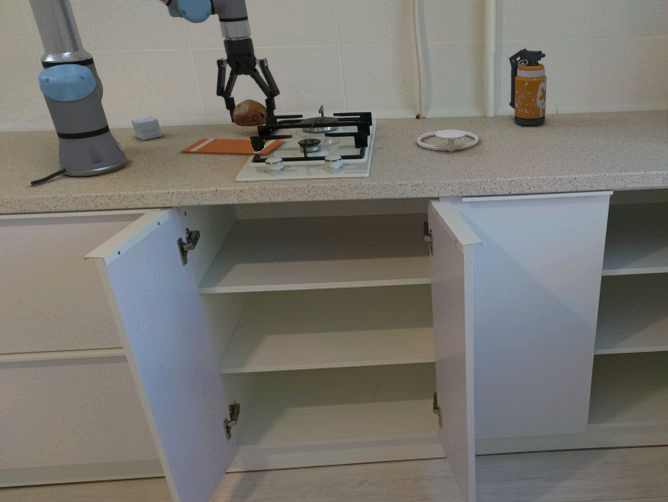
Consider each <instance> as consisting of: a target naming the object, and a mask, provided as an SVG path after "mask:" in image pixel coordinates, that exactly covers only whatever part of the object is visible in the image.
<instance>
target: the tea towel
mask: <svg viewBox="0 0 668 502" xmlns="http://www.w3.org/2000/svg"><path fill="white" fill-rule="evenodd" d="M251 140H252V139H231V138H214V137H213V138H212V137H211V138H202V139H200V140H197V142H194V143H193V144H191V145H189V146H188V147H186V148H184V149H182V150H181V153H182V154H209V155H210V154H211V155H213V154H214V155H246V156H247V155H248V156H249V155H250V156H267V155H269V154H270V153H272V152H273V151H274V150H276V149H277V148H278V147H281V146H282V145H283V144H284V143H285V140H282V139H281V140H277V139H266V140H267V141H266V142H265V145H264V148H263V149H262V150H261V151H258V152H255V151H254V149H253V147H252V144H251Z"/></svg>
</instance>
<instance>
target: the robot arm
mask: <svg viewBox="0 0 668 502" xmlns="http://www.w3.org/2000/svg"><path fill="white" fill-rule="evenodd" d="M28 1H29V5H30V8H31V11H32V14H33V16H34V17H33V18H34V20H35V24H36V27H37V30H38V33H39V36H40V40H41V43H42V47H43V50H44V52H43V54H42V56H41V57H40V63H41V67H42V69H43V70H41V71H40V72H39V74H38V78H37V79H38V83H39V89H40V91H41V92H42V95H43V98H44V101H45V103H46V106H47V109H48V112H49V115H50V119H51V121H52V123H53V126H54V130H55V132H56V135H57V138H58V153H59V154H58V155H59V161H58V163H59V168H60V170H57V171H56V172H53V173H51V174H49V175H47V176H44V177H42V178H39V179H36V180H31V181H30V185H31V186H35V185H39V184H42V183H45V182H48V181H50V180H51V179H54V178H56V177H58V176H60V175H65V176H69V177H92V176H100V175H104V174H108V173H113V172H115V171H118V170H120V169H122V168H125V166H127V165H128V158H127V156H126V153H125V152H124V151H123V149H122V148H123V147H122V145H121V143H120V142H119V141H117V140H116V138H115V137H114V136H113V133H112V132H111V129H110V126H109V122H108V119H107V116H106V113H105V109H104V106H103V102H102V101H103V100H102V99H103V96H104V86H103V82H102V80H101V78H100V76H99V75H98V72H97V67H96V64H95V61H94V57H93V55H92V54H91V53H90V52H88V51H87V50H86V49H85V47H84V46H83V41H82V39H81V34H80V31H79V28H78V24H77V21H76V17H75V14H74V10H73V7H72V4H71V0H28ZM157 1H158V2H160V3H161V4H163V5H164V6H166V7H167V11H168V14H169V16H170V17H172V18H181V19H184V20H186V21H187V22H189V23H192V24H200V23H201V24H202V23H204V22H205V21H207V20H208V19H209V18H210V17H211V16H214V15H215V16H216V15H217V17H218V22H219V27H220V32H221V37H222V38H223V41H222V42H223V47H224V52H225V54H226V58H224V57H220V58H218V59H217V60H216V66H217V79H216V92H215V94H216V96H217V97H221V98H223V100H224V105H225V109H226V110H227V111H229V116H230V120H231V123H232V124H235V122H234V120H233V111H234V109H235V107H236V106H237V105H236V101H235V97H234V96H232V95H233V90H234V87H235V85H236V81H237V79H238V76H242V75H243V76H249V77H250V78H251V79H253V81H254V82H255V84H256V85H257V86H258V88H259V89H260V90H261V91H262V93H263V94H264V96H265V97H266V98H265V99H264V104H265V107H266V109H267V114H268V117H275V110H276V109H277V106H276V99H275V97H277V96H279V95H281V92H280V89H279V87H278V85H277V83H276V81H275V78H274V76H273V74H272V72H271V70H270V68H269V64H268V63H269V62H268V59H267V58H266V57H264V58H257V57H256V54H255V47H254V42H253V39H252V37H251V36H252V32H251V26H250V21H249V16H248V9H247V3H246V0H157ZM257 65H258V66H257ZM228 66H229V67H230V71H229V74H228V75H229V77H228V80H227V82H226V75H227V67H228ZM256 67H259V68H260V71H261V73H262V75H263V77H264V78H263V77H262V75H261V74H260V72H259V70H258V68H256ZM275 118H276V117H275Z"/></svg>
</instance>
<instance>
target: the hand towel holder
mask: <svg viewBox="0 0 668 502" xmlns="http://www.w3.org/2000/svg"><path fill="white" fill-rule="evenodd" d="M435 136H436V138H437V139H440V140H443V141H444V140H445V141H447V145H434V144H428V143H424V142H423V141H422V140H423V139H426V138H430V137H435ZM465 137H469V138H472V139H474V140H473V141H471V142H467V143H464V144H463V143H462V144H455V142H454V141H455V140H460V139H462V138H465ZM479 141H480V140H479V137H478V135H477V134H475V133H473V132H470V131H465V130H459V129H444V130H435V131H428V132H425V133H422V134H421V135H419V136H418V137H417V138H416V143H417V144H418V146H419V147H421V148H423V149H427V150H430V151H431V150H433V151H442V152H443V151H448V152H449V153H451V152H454V151H460V150H466V149H469V148H472V147H474V146H476V145H477V144H478V143H479Z"/></svg>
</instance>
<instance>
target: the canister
mask: <svg viewBox="0 0 668 502" xmlns="http://www.w3.org/2000/svg"><path fill="white" fill-rule="evenodd" d="M545 57H546V53H544V52H543V51H542V50H528V49H527V48H523V49H520V50H518V51H517V52H516V53H514V54H513V55H511V56H509V57H508V60H509V64H510V69H511V70H510V101H509V103H508V105H509V106H510V107H511V108H512V109H513V110H514V119H513V121H514V123H516V124H519V125H520V126H525V127H532V126H533V127H535V126H539V125H540V124H543V123H545V122H546V106H547V104H546V103H547V83H548V82H547V81H548V77H547V76H546V68H545V65H544V64H543V63H539V62H540V61H542V59H544V58H545Z"/></svg>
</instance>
